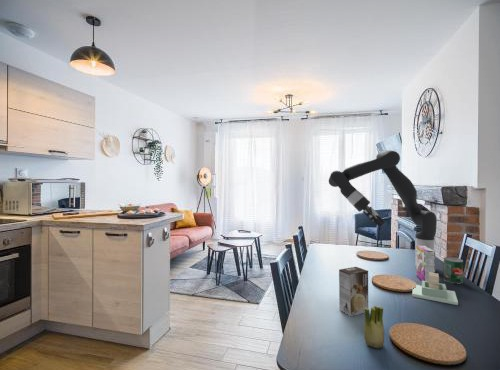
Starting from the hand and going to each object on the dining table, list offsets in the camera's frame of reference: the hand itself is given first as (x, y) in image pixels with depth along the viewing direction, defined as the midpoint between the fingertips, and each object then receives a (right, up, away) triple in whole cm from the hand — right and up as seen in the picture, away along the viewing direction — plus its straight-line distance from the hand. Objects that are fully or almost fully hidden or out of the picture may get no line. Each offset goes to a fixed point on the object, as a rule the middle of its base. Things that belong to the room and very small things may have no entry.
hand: (382, 224), depth 139 cm
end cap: (+14, -29, -18) cm, 37 cm away
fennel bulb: (-29, -30, -55) cm, 68 cm away
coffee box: (-27, -29, -32) cm, 51 cm away
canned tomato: (+36, -29, -1) cm, 46 cm away
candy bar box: (+22, -29, +1) cm, 36 cm away
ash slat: (+14, -28, -18) cm, 36 cm away
